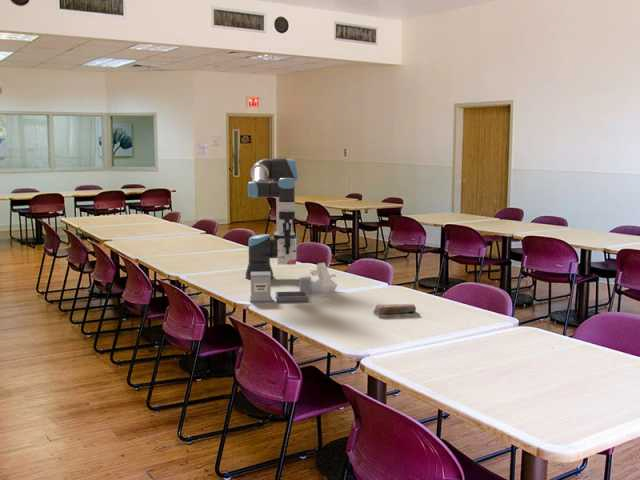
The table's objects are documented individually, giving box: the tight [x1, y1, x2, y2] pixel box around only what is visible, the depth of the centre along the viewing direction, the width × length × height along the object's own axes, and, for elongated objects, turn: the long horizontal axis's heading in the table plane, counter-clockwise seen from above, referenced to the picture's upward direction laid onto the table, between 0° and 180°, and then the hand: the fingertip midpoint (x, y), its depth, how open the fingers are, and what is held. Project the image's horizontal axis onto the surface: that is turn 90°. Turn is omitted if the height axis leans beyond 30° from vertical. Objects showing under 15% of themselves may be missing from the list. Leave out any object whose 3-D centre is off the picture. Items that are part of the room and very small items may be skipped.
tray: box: [275, 290, 309, 303], centre depth 309 cm, size 12×15×2 cm
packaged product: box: [373, 303, 421, 319], centre depth 281 cm, size 18×5×10 cm
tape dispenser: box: [310, 262, 338, 294], centre depth 327 cm, size 8×14×14 cm, turn 125°
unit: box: [249, 272, 273, 303], centre depth 307 cm, size 10×10×13 cm
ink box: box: [277, 239, 297, 266], centre depth 311 cm, size 9×5×12 cm, turn 85°
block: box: [299, 274, 312, 294], centre depth 324 cm, size 5×5×8 cm
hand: (287, 259), depth 312 cm, fingers closed on ink box, 5 cm apart
